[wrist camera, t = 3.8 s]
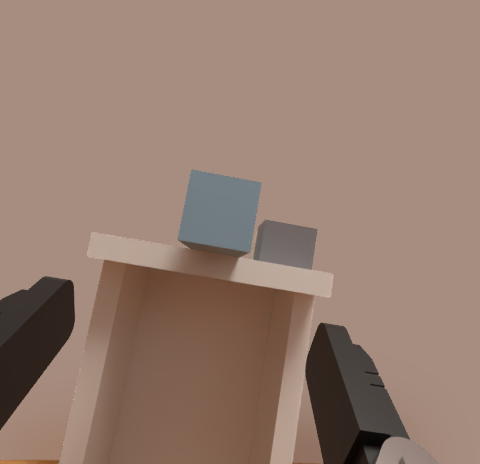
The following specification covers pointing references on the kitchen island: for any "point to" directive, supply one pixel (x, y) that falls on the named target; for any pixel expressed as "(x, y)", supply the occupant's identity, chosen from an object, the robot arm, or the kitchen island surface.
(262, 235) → the charcoal block
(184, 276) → the shelf stand
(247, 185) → the slate block
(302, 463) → the kitchen island surface
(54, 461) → the kitchen island surface
